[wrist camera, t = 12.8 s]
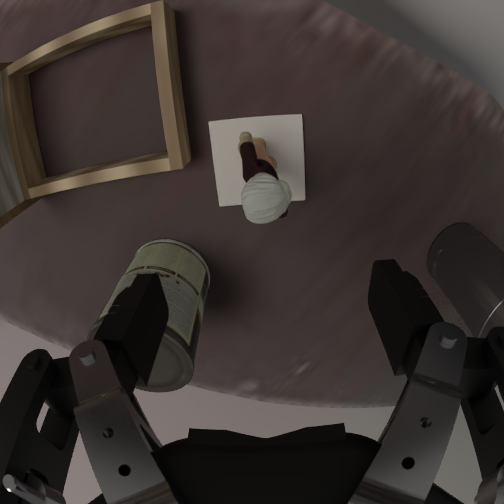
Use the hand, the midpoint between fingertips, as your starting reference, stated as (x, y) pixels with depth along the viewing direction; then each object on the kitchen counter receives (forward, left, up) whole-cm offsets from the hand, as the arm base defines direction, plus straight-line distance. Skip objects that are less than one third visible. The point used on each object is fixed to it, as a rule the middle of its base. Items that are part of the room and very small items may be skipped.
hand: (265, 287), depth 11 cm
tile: (0, 0, -21) cm, 21 cm away
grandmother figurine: (0, 0, -21) cm, 21 cm away
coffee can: (+12, +13, -22) cm, 28 cm away
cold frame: (+17, -9, -21) cm, 29 cm away
